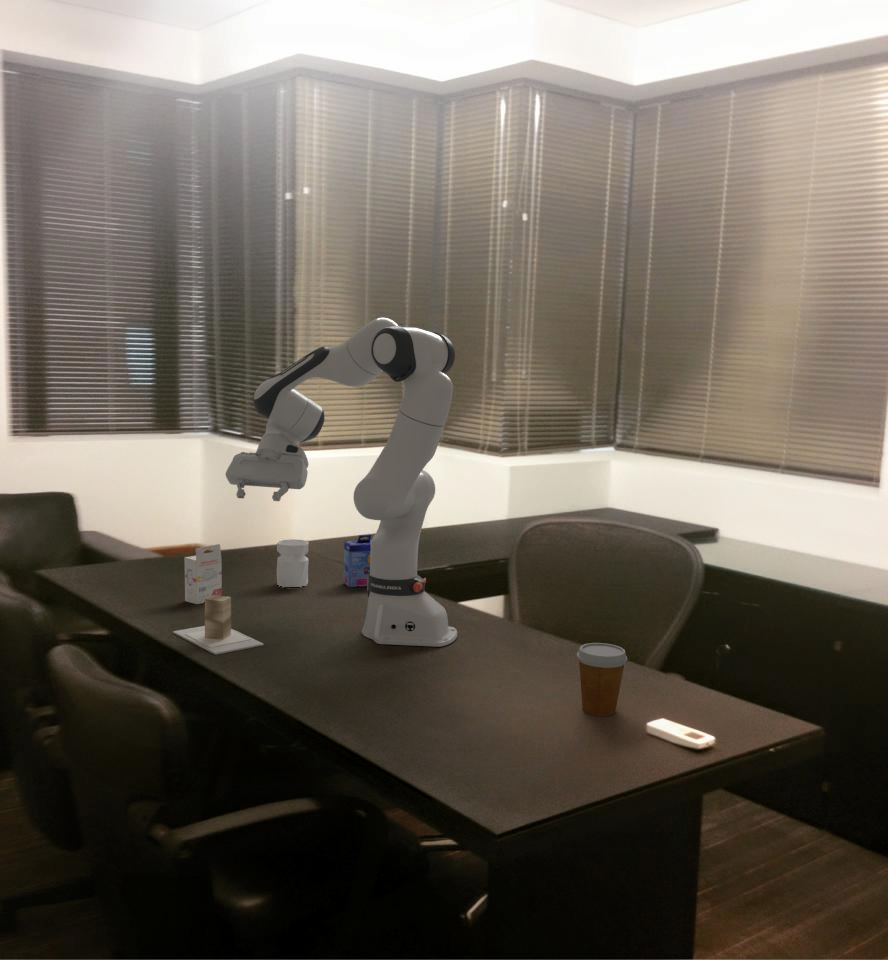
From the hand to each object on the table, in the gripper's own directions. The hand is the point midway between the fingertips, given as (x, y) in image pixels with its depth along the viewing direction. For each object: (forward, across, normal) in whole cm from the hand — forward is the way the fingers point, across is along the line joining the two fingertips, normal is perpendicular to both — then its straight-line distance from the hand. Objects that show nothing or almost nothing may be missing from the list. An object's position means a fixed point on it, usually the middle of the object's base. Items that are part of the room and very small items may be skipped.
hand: (257, 498), depth 249 cm
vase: (-2, -4, +44) cm, 44 cm away
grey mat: (+36, 0, +6) cm, 36 cm away
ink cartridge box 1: (+15, -19, +27) cm, 36 cm away
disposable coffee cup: (+48, +88, -6) cm, 100 cm away
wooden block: (+35, 0, +5) cm, 36 cm away
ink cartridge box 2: (-7, +14, +49) cm, 52 cm away
